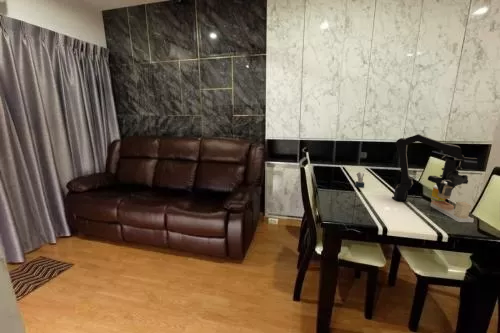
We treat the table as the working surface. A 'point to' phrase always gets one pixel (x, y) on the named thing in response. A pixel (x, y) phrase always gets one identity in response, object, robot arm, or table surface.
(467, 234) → the table surface
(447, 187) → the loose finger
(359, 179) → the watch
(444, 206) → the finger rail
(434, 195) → the supplement bottle
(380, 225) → the table surface
